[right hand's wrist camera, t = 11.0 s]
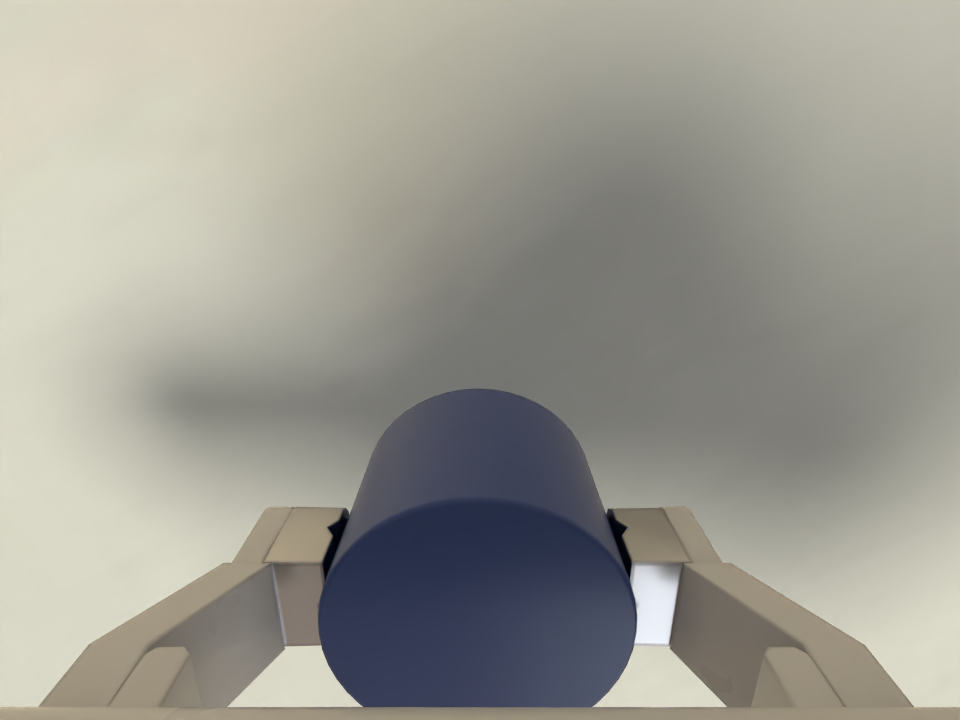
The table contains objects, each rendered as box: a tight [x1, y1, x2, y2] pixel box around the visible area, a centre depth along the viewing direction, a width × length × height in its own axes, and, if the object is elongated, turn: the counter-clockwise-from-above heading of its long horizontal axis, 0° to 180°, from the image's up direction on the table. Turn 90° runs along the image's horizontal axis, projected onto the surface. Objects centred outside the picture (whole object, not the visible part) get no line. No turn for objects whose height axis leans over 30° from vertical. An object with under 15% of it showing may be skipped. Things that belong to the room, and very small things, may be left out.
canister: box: [318, 389, 637, 707], centre depth 10 cm, size 5×5×4 cm
